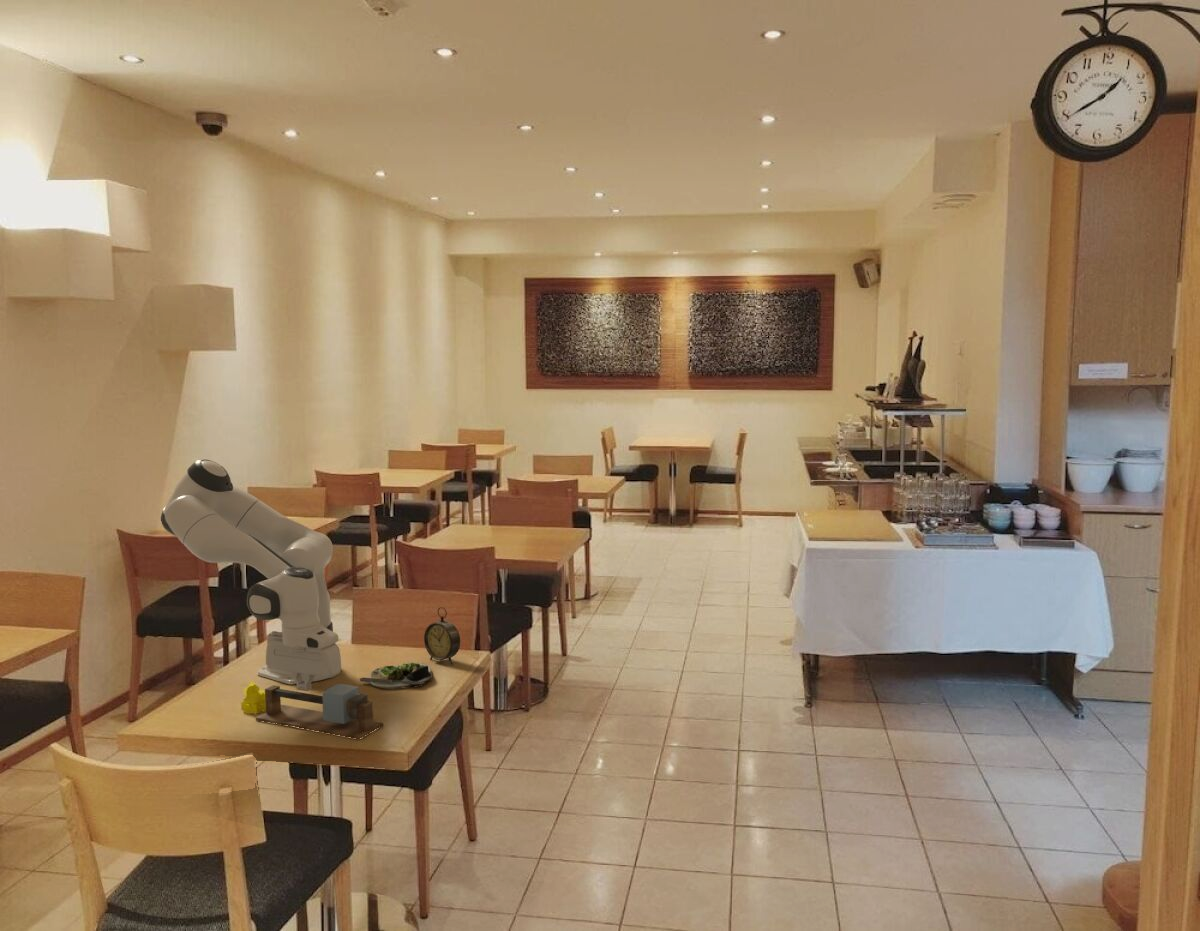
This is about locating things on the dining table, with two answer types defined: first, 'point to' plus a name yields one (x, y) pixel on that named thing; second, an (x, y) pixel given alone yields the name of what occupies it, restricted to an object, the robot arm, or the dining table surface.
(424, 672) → the salad plate
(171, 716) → the dining table surface
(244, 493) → the robot arm
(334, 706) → the sleeve
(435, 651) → the alarm clock
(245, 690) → the crumpled paper
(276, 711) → the rail rig
